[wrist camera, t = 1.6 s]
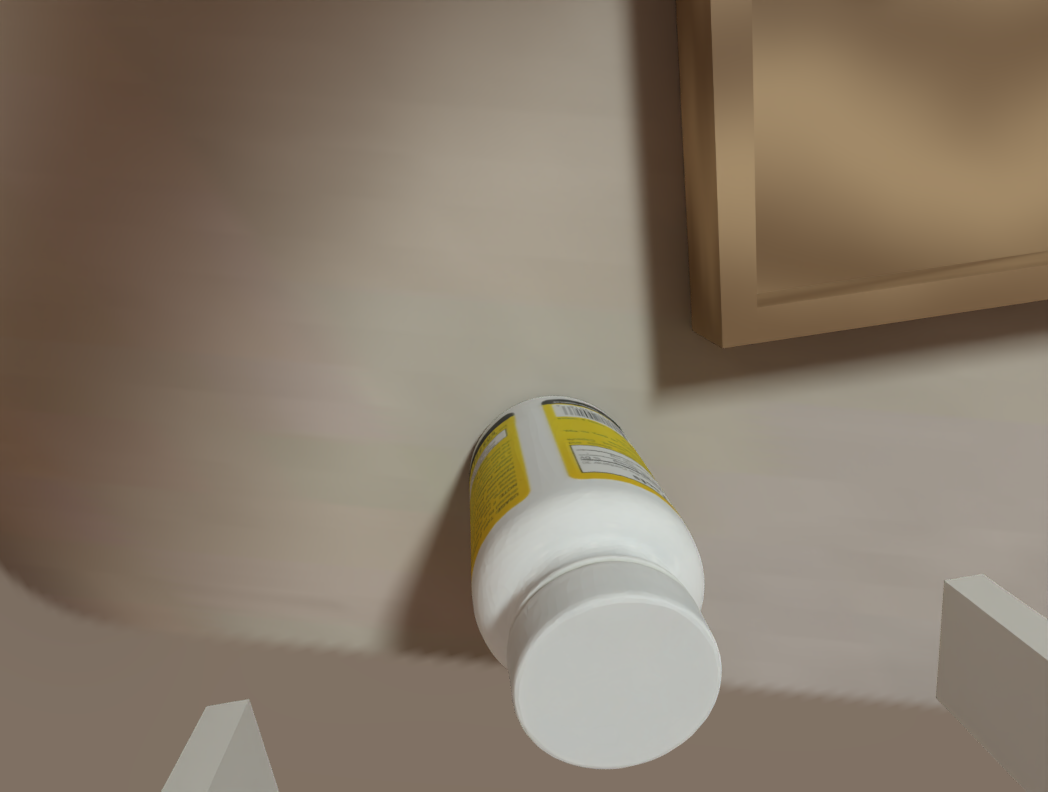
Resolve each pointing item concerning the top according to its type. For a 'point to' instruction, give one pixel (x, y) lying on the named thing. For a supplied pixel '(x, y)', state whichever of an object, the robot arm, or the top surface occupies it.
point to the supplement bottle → (587, 587)
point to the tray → (861, 161)
